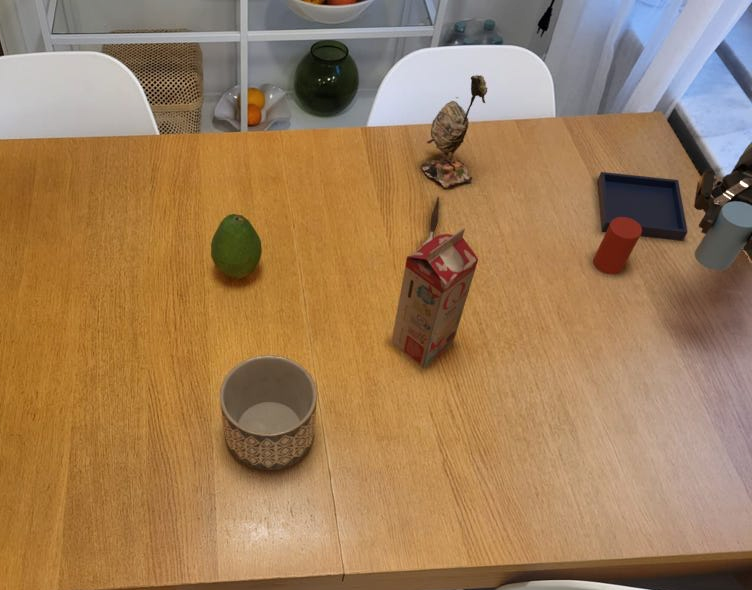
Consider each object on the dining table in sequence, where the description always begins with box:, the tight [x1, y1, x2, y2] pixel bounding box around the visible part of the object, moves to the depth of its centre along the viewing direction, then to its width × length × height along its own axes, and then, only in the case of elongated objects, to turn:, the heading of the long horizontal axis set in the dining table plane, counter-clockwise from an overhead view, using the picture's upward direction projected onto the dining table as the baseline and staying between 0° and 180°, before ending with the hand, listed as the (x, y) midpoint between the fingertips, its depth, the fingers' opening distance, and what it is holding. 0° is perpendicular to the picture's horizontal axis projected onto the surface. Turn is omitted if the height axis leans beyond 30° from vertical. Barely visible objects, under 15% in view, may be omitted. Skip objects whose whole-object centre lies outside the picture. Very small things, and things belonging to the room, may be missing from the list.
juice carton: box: [390, 227, 479, 369], centre depth 106 cm, size 7×7×22 cm
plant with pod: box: [420, 74, 489, 188], centre depth 130 cm, size 8×11×20 cm
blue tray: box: [596, 171, 688, 241], centre depth 130 cm, size 13×13×2 cm
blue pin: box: [694, 201, 752, 271], centre depth 100 cm, size 5×5×8 cm
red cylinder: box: [592, 217, 642, 275], centre depth 121 cm, size 5×5×8 cm
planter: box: [219, 354, 318, 471], centre depth 102 cm, size 13×13×10 cm
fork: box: [420, 196, 440, 247], centre depth 128 cm, size 3×16×2 cm, turn 166°
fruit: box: [210, 213, 263, 279], centre depth 119 cm, size 8×8×12 cm
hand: (727, 237), depth 97 cm, fingers closed on blue pin, 4 cm apart
